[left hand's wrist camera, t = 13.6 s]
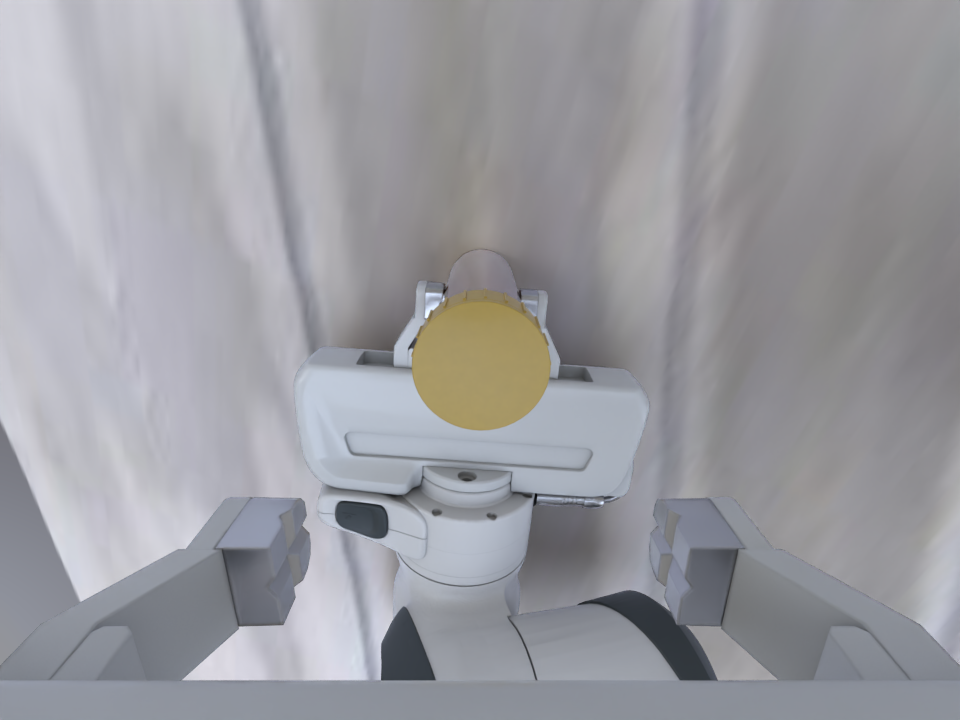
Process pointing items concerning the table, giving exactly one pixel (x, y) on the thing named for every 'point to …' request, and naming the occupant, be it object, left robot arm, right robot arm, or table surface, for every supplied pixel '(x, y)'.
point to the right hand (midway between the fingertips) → (481, 287)
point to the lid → (481, 360)
